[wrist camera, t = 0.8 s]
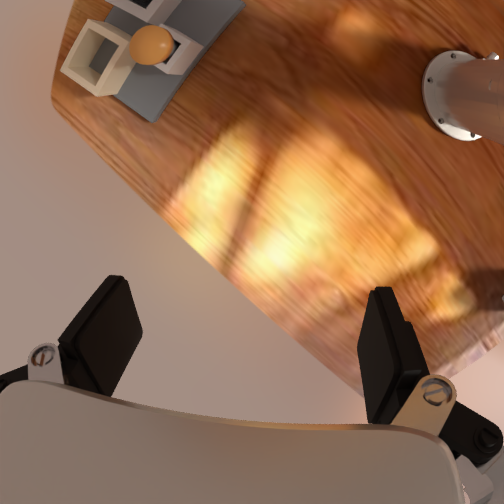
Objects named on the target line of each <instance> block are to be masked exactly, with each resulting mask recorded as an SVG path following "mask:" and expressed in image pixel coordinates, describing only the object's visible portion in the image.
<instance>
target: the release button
mask: <svg viewBox="0 0 504 504" xmlns="http://www.w3.org/2000/svg"><path fill="white" fill-rule="evenodd" d="M178 47H179V44H178V43H177V42H176V41H173V37H172V35H171V33H170V32H169V31H168V30H166V29H164V28H162V27H159V26H156V25H148V26H145V27H142V28H141V29H139V30H138V31H137V32H136V33H135V34H134V35H133V37H132V39H131V41H130V44H129V52H130V55H131V57H132V59H133V60H134V61H135V62H137V63H139V64H143V65H156V64H159V63H161V62H163V61H164V60H166V59H170V58H171V57H172V56H173V54H174V53H175V51H176V50H177V49H178Z"/></svg>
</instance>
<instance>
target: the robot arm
mask: <svg viewBox="0 0 504 504" xmlns="http://www.w3.org/2000/svg"><path fill="white" fill-rule="evenodd" d="M451 56H452V58H451ZM427 79H429V82H428V81H427ZM422 96H423V101H424V104H425V107H426V110H427V112H428V114H429V116H430V118H431V119H432V121H433V122H434V123H435V125H436V126H437V127H438V128H439V129H440V130H441V131H442V132H444V133H445V134H447V135H448V136H451V137H453V138H455V139H458V140H462V141H472V140H476V139H479V138H481V137H484V138H487V139H489V140H492V141H494V142H497V143H499V144H502V145H504V59H499V57H498V55H497V54H496V53H494V52H491V53H490V54H489V55H488V56H487V58H486V59H485V58H483V59H476V58H475V57H474V56H472V55H470V54H468V53H465V52H462V51H446V52H443V53H440V54H438V55H437V56H435V57H434V58H433V59H432V60H431V61H430V62H429V64H428V65H427V67H426V69H425V71H424V74H423V79H422ZM438 119H440V121H439V122H438ZM470 134H471V135H470ZM142 333H143V331H142V327H141V323H140V321H139V317H138V314H137V311H136V308H135V304H134V301H133V298H132V295H131V291H130V287H129V284H128V281H127V280H125V279H124V277H123V276H116V275H109V276H108V277H107V278H106V279H105V280H104V282H103V283H102V284H101V285H100V286H99V288H98V289H97V290H96V291H95V292H94V294H93V295H92V296H91V297H90V299H89V300H88V301H87V302H86V304H85V305H84V306H83V307H82V309H81V310H80V311H79V312H78V314H77V315H76V316H75V318H74V319H73V320H72V321H71V323H70V324H69V326H68V327H67V328H66V329H65V331H64V332H63V333H62V335H61V336H60V337H59V339H58V341H59V343H60V344H59V346H58V347H57V346H56V345H55V344H52V343H44V344H41V345H39V346H37V347H36V348H34V349H33V350H32V351H31V353H30V355H29V357H28V364H27V365H25V366H22V367H20V368H17V369H15V370H12V371H10V372H7V373H5V374H2V375H0V504H465V498H464V492H463V490H464V491H465V492H466V493H467V494H468V496H469V498H470V504H504V446H503V435H502V432H501V430H500V429H499V427H498V426H497V425H495V424H494V423H493V422H491V421H489V420H488V419H486V418H484V417H483V416H481V415H479V414H478V413H476V412H474V411H472V410H471V409H469V408H467V407H466V406H464V405H463V404H461V403H459V402H457V401H456V397H457V393H456V389H455V387H454V385H453V383H452V382H451V381H450V380H449V379H447V378H446V377H443V376H441V375H435V374H432V375H430V373H429V370H428V367H427V364H426V361H425V358H424V356H423V353H422V350H421V347H420V344H419V342H418V339H417V336H416V334H415V331H414V329H413V326H412V324H411V322H409V321H405V320H404V317H403V315H402V312H401V310H400V307H399V304H398V302H397V299H396V297H395V294H394V292H393V290H392V288H391V287H376V288H375V290H371V291H370V294H369V298H368V303H367V307H366V312H365V316H364V320H363V324H362V328H361V332H360V336H359V340H358V345H357V352H358V358H359V364H360V370H361V377H362V383H363V390H364V397H365V404H366V412H367V420H368V423H369V424H291V423H272V422H257V421H246V420H236V419H226V418H218V417H210V416H202V415H196V414H190V413H184V412H177V411H172V410H167V409H161V408H156V407H151V406H146V405H142V404H137V403H133V402H128V401H124V400H120V399H116V398H112V397H111V396H112V394H113V392H114V390H115V388H116V386H117V384H118V382H119V380H120V378H121V376H122V374H123V372H124V370H125V368H126V366H127V365H128V363H129V361H130V359H131V357H132V355H133V353H134V351H135V349H136V347H137V345H138V344H139V341H140V340H141V338H142ZM371 423H372V424H371ZM462 484H463V485H464V486H465V488H464V489H463V486H462Z"/></svg>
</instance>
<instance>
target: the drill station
mask: <svg viewBox="0 0 504 504" xmlns="http://www.w3.org/2000/svg"><path fill="white" fill-rule="evenodd" d="M105 1H106V2H109V3H111V4H113V5H114V7H113V8H112V10H111V11H110V13H109V14H108V16H107V17H106V19H105V20H104V22H102V21H97V20H92V19H88V20H87V22H86V23H85V25H84V27H83V28H82V30H81V32H80V33H79V35H78V37H77V39H76V40H75V42H74V44H73V46H72V48H71V50H70V52H69V53H68V55H67V57H66V59H65V61H64V63H63V65H62V67H61V69H60V71H61V72H62V73H64V74H65V75H67V76H68V77H70V78H71V79H72V80H74V81H75V82H77V83H78V84H80V85H81V86H82V87H84V88H85V89H87V90H88V91H89V92H91V93H92V94H94V95H95V96H96V97H99V96H106V95H113V96H115V97H116V98H118V99H119V100H120V101H122V102H123V103H125V104H126V105H127V106H129V107H130V108H132V109H133V110H134V111H136V112H137V113H138V114H140V115H141V116H143V117H144V118H145V119H147V120H148V121H150V122H151V123H154V122H156V121H157V120H158V118H159V117H160V115H161V114H162V112H163V111H164V109H165V108H166V106H167V105H168V103H169V102H170V100H171V99H172V97H173V96H174V95H175V93H176V92H177V90H178V89H179V87H180V86H181V85H182V83H183V82H184V80H185V79H186V78H187V76H188V75H189V74H190V72H191V71H192V70H193V68H194V67H195V66H196V64H197V63H198V62H199V60H200V59H201V58H202V57H203V55H204V54H205V53H206V52H207V50H208V49H209V48H210V47H211V45H212V44H213V43H214V42H215V40H216V39H217V38H218V37H219V36H220V34H221V33H222V32H223V31H224V30H225V28H226V27H227V26H228V25H229V24H230V23H231V22H232V20H233V19H234V18H235V17H236V16H237V15H238V14H239V13H240V12H241V10H242V9H243V8H244V7H245V6H246V4H245V3H244V2H243V1H241V0H152V1H151V3H150V4H147V3H145V2H143V1H140V0H105ZM148 25H156V26H159V27H162V28H164V29H166V30H168V31H169V32H170V33H171V35H172V37H173V41H176V42H177V43H178V44H179V47H178V49H177V50H176V51H175V53H174V54H173V56H172V57H171V58H170V59H166V60H164V61H163V62H161V63H159V64H156V65H143V64H139V63H137V62H135V61H134V60H133V59H132V57H131V55H130V52H129V44H130V41H131V39H132V37H133V35H134V34H135V33H136V32H137V31H138V30H139V29H141V28H142V27H145V26H148Z"/></svg>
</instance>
